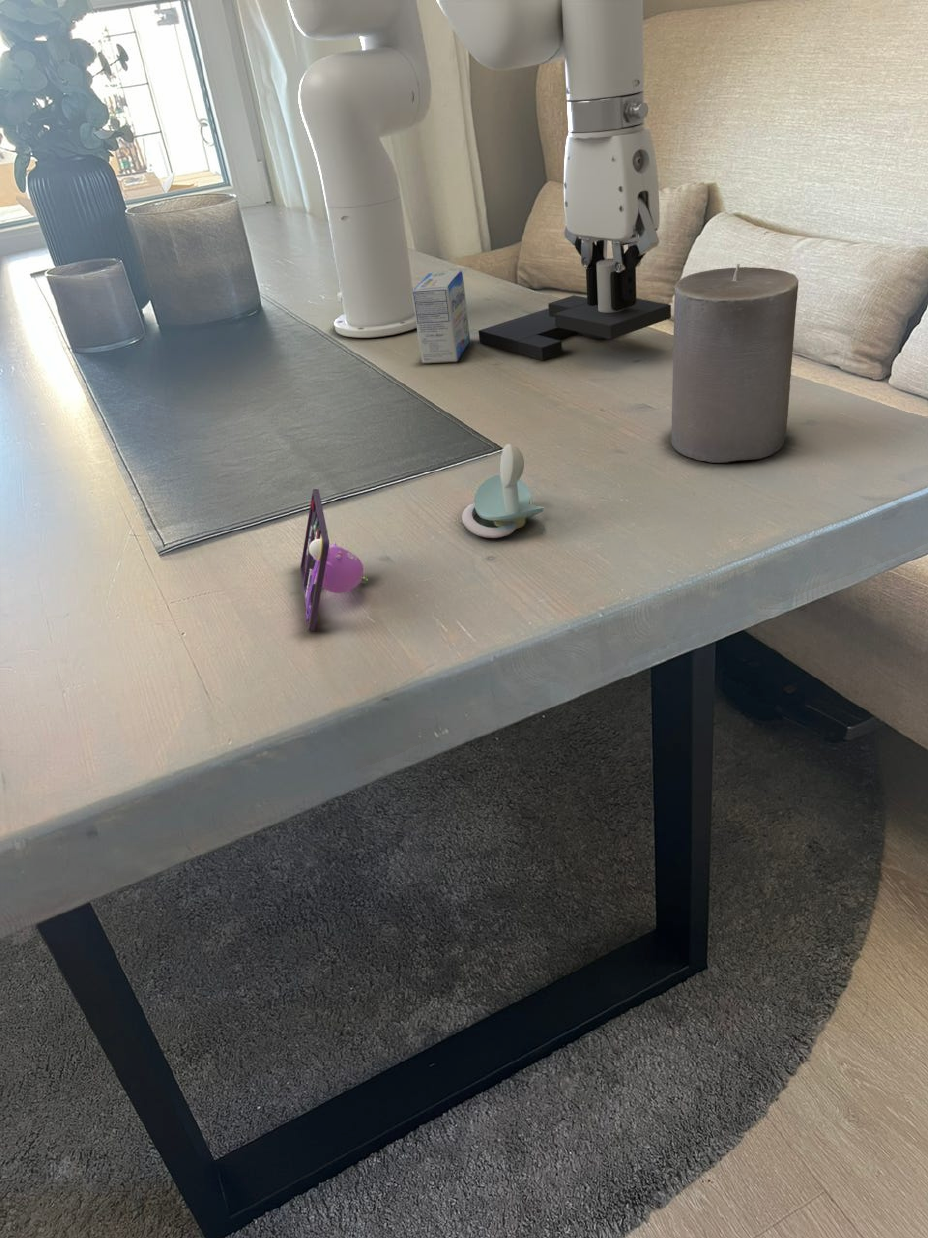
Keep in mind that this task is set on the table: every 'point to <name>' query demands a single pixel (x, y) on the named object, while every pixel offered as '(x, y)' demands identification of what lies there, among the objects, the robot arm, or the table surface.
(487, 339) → the big pad
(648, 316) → the small pad
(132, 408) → the table surface
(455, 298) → the medicine box
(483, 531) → the pacifier
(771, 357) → the pillar candle
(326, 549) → the purple panel with bulb
